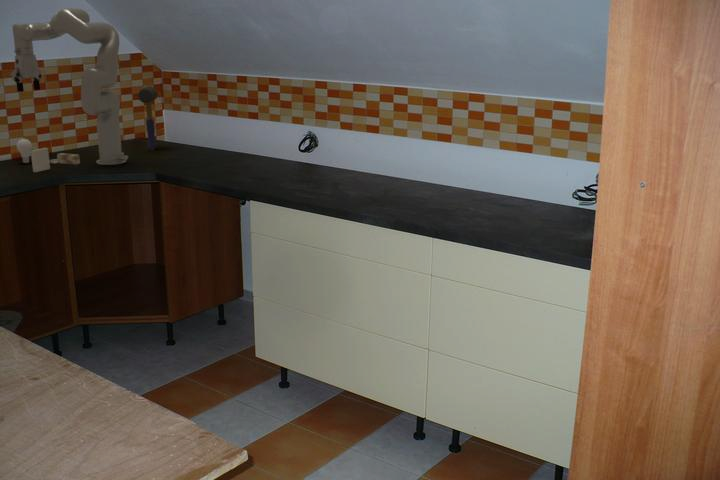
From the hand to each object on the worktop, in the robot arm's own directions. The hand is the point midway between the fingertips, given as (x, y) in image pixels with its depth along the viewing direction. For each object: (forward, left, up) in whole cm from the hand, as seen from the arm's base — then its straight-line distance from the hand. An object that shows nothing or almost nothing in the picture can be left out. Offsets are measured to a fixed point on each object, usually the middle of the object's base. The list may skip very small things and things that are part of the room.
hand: (28, 90), depth 369 cm
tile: (-27, +24, -30) cm, 48 cm away
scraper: (-23, +8, -30) cm, 39 cm away
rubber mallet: (-38, -36, -30) cm, 60 cm away
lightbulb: (-10, +16, -30) cm, 35 cm away
